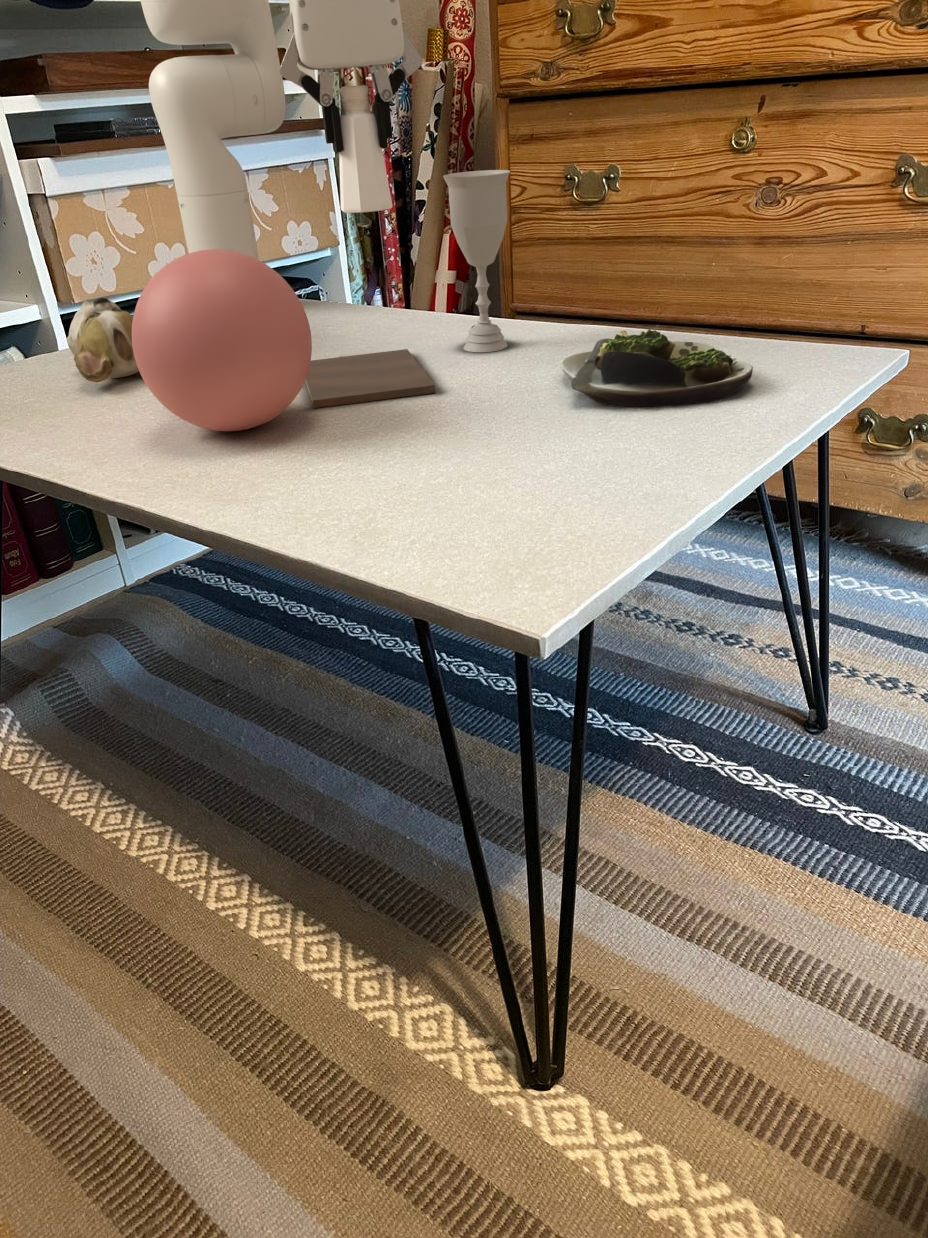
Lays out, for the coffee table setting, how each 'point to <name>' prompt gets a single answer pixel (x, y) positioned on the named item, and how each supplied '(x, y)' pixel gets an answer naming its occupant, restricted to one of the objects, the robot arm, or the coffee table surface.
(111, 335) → the ceramic sculpture
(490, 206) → the chalice
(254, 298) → the balloon
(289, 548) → the coffee table surface
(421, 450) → the coffee table surface
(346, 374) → the walnut board
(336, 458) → the coffee table surface
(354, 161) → the pepper shaker
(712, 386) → the salad plate
